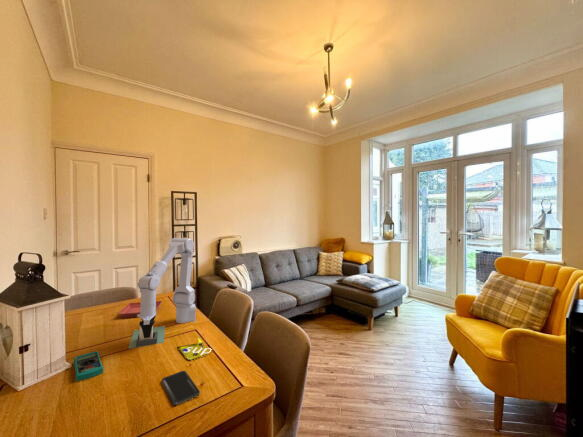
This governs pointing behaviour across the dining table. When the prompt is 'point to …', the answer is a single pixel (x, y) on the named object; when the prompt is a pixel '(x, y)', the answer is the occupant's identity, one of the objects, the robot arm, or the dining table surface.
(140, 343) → the board
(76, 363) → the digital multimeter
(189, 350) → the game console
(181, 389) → the phone
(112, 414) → the dining table surface
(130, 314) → the plant saucer
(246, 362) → the dining table surface
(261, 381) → the dining table surface
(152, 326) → the keyed plug
